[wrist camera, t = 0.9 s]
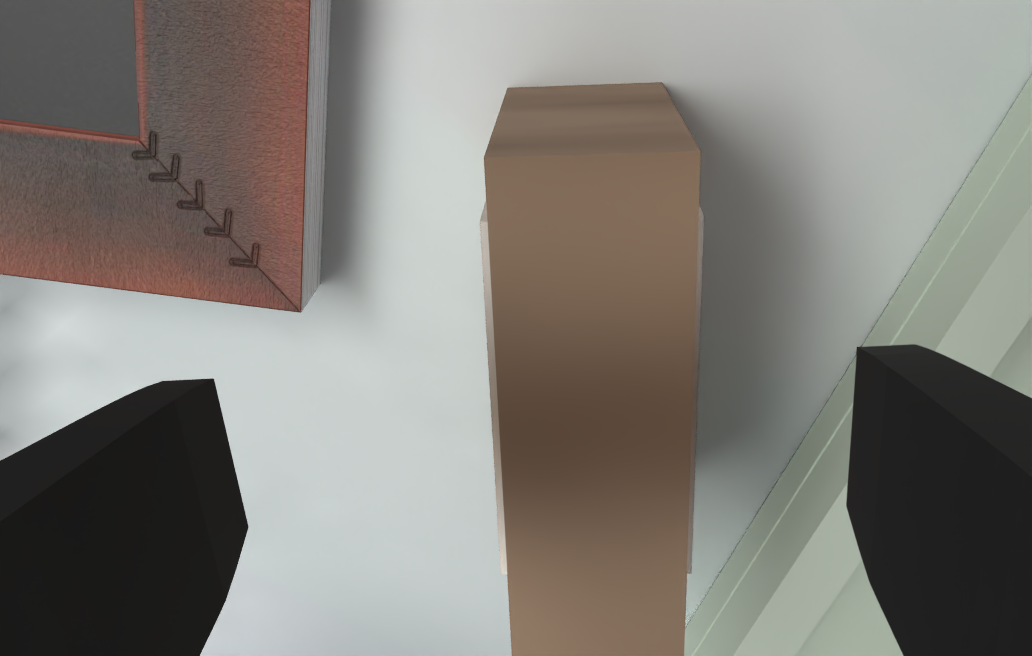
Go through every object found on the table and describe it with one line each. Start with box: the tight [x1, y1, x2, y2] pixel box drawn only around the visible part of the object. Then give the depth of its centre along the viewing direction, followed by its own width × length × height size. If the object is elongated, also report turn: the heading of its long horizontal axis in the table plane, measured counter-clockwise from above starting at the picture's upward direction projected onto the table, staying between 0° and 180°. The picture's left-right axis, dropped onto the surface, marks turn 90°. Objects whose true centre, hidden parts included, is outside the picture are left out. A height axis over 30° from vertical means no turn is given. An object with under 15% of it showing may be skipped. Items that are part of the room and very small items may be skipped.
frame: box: [480, 82, 704, 656], centre depth 18 cm, size 9×3×6 cm, turn 2°
